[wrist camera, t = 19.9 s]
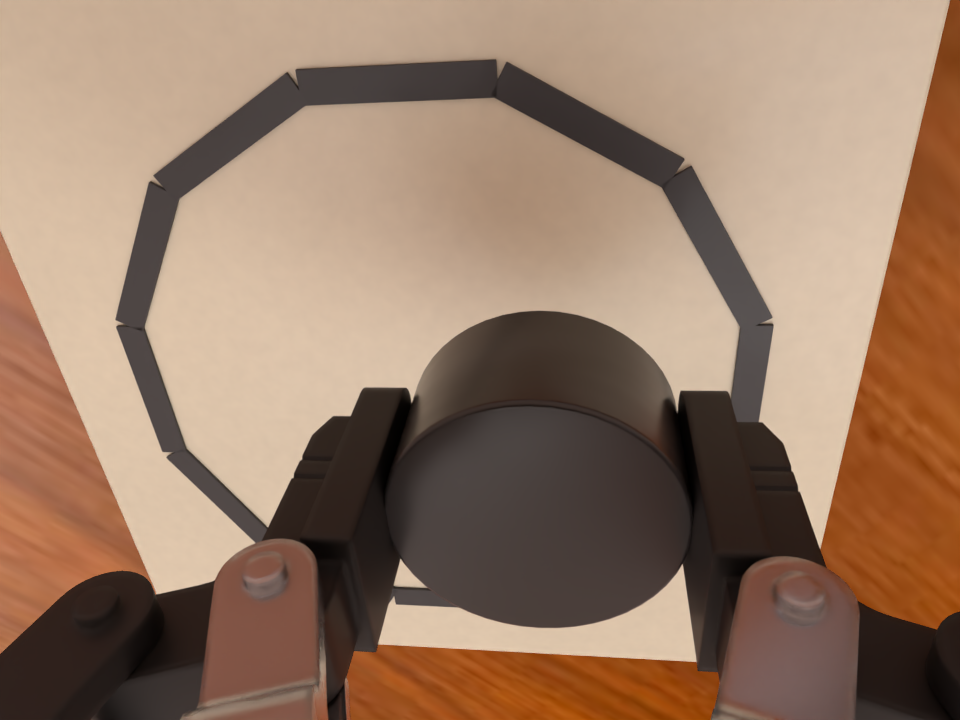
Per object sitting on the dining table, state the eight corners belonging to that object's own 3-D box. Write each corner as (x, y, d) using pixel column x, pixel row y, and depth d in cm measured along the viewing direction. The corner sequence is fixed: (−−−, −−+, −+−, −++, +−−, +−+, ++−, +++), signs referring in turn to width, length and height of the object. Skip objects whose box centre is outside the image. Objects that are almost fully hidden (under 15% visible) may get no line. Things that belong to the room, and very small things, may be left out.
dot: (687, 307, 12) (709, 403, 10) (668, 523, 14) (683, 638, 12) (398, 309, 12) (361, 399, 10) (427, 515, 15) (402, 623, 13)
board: (952, -106, 13) (980, -104, 12) (786, 640, 24) (794, 671, 23) (-77, -32, 16) (-117, -26, 15) (185, 610, 27) (171, 636, 26)
